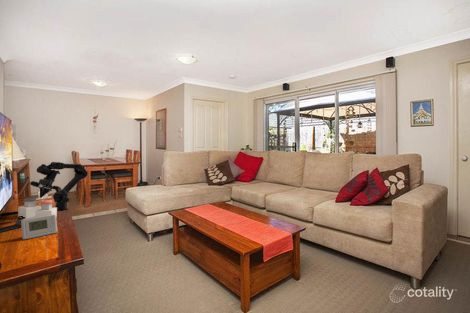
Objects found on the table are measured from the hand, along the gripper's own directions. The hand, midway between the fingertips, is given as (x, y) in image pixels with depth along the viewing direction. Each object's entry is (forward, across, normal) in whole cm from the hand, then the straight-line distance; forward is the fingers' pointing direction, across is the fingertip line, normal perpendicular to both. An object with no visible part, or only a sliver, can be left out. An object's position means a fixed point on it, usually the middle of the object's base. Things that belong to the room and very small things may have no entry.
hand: (40, 197), depth 178 cm
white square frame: (+14, +12, -7) cm, 20 cm away
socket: (+13, -2, +2) cm, 14 cm away
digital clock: (+25, +25, -39) cm, 52 cm away
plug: (+9, -3, 0) cm, 10 cm away
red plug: (+10, +11, -9) cm, 17 cm away
